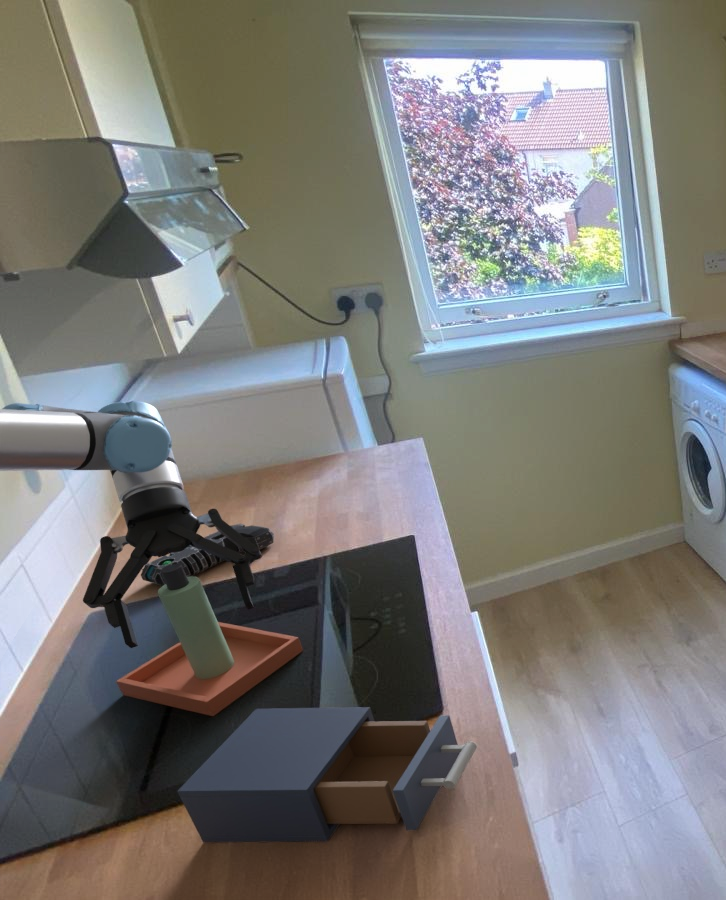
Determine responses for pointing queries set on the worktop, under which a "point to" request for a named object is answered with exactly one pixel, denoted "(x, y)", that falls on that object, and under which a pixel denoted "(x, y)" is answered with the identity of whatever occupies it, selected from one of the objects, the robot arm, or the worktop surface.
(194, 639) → the green bottle
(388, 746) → the drawer
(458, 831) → the worktop surface
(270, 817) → the cabinet
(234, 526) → the sci-fi power cell
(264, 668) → the tray
